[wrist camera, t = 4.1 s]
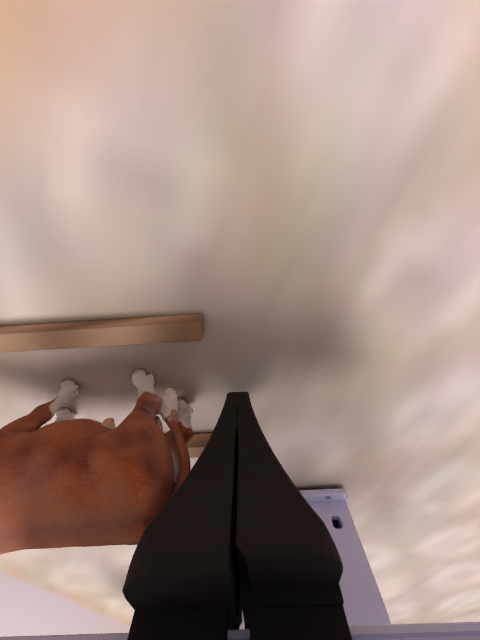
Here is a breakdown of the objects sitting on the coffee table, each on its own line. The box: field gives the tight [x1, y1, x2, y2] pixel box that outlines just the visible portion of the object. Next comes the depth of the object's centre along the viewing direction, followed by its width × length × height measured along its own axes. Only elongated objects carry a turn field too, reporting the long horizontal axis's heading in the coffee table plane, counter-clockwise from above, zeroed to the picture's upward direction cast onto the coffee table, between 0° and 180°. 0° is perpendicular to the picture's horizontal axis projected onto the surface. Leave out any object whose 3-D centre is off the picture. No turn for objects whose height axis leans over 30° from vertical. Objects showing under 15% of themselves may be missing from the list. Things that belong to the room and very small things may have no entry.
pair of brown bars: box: [0, 314, 212, 458], centre depth 12 cm, size 14×12×4 cm
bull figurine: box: [0, 369, 193, 554], centre depth 10 cm, size 4×13×8 cm, turn 92°
